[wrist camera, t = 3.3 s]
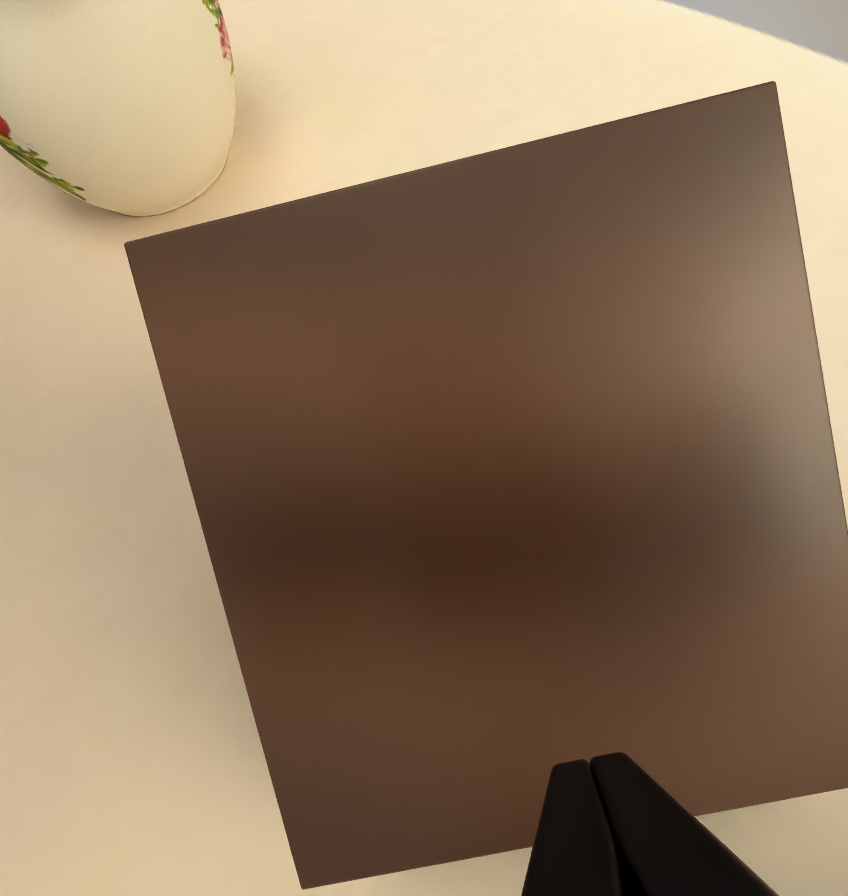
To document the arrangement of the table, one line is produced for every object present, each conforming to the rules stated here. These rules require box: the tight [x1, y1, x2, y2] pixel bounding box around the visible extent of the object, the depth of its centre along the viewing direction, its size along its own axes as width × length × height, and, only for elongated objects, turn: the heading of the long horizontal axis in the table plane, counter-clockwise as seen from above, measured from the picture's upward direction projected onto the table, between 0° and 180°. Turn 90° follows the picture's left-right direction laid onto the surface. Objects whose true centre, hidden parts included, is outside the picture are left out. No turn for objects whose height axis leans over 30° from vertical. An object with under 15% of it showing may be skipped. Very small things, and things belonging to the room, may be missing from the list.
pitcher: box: [0, 0, 236, 216], centre depth 29 cm, size 11×18×14 cm, turn 37°
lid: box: [124, 81, 848, 889], centre depth 13 cm, size 12×11×1 cm
